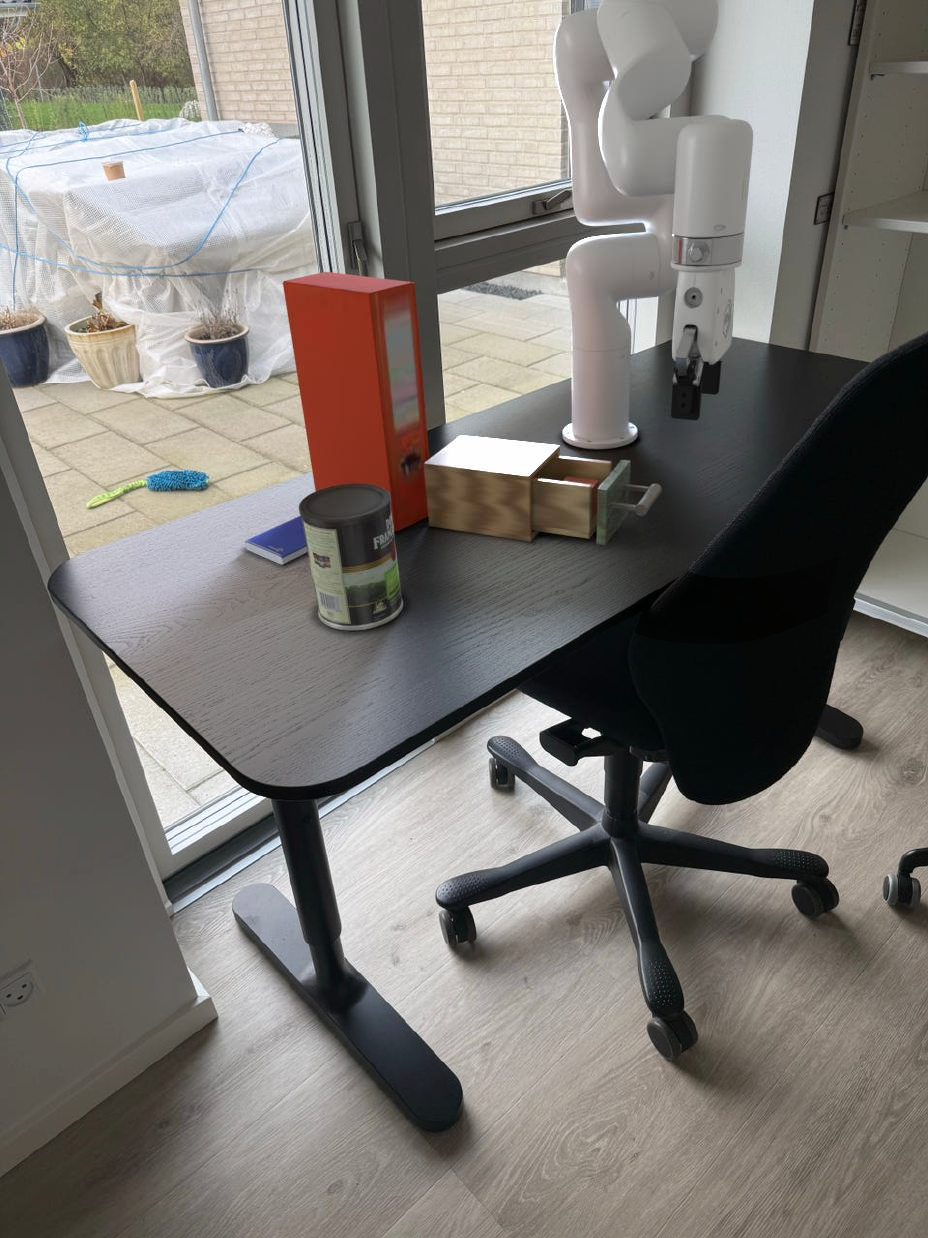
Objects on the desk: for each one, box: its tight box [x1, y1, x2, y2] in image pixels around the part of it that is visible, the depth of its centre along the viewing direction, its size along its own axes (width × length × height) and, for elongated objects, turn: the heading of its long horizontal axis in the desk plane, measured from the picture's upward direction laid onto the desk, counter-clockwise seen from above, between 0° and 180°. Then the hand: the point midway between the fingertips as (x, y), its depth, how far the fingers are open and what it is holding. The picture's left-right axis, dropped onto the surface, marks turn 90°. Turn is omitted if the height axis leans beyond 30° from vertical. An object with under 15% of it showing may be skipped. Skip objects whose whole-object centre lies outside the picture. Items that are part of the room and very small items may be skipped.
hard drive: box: [244, 515, 308, 566], centre depth 121 cm, size 2×8×12 cm
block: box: [563, 476, 599, 520], centre depth 117 cm, size 5×5×5 cm
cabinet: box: [424, 434, 561, 542], centre depth 121 cm, size 15×11×9 cm
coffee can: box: [298, 483, 404, 632], centre depth 101 cm, size 10×10×14 cm
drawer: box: [530, 455, 663, 546], centre depth 116 cm, size 19×10×8 cm, turn 64°
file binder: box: [282, 271, 430, 532], centre depth 121 cm, size 8×17×32 cm, turn 47°
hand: (695, 405), depth 103 cm, fingers open, 9 cm apart
